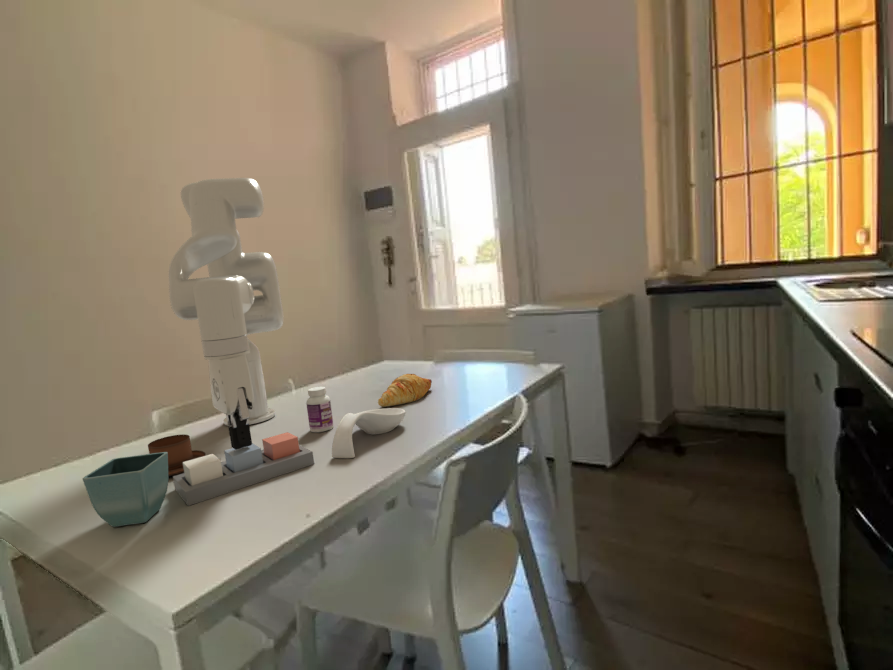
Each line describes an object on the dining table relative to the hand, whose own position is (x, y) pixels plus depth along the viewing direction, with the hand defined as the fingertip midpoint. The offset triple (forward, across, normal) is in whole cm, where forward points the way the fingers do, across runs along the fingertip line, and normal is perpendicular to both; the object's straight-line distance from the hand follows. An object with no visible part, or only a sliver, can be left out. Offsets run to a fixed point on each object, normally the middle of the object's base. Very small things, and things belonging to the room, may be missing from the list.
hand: (242, 446), depth 95 cm
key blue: (+4, 0, 0) cm, 4 cm away
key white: (+3, 0, -7) cm, 8 cm away
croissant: (+6, -20, +49) cm, 53 cm away
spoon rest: (+6, +1, +25) cm, 26 cm away
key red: (+3, 0, +7) cm, 8 cm away
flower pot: (+6, +3, -18) cm, 19 cm away
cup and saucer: (+6, -16, -9) cm, 20 cm away
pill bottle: (+6, -15, +22) cm, 27 cm away
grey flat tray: (+6, 0, 0) cm, 6 cm away
